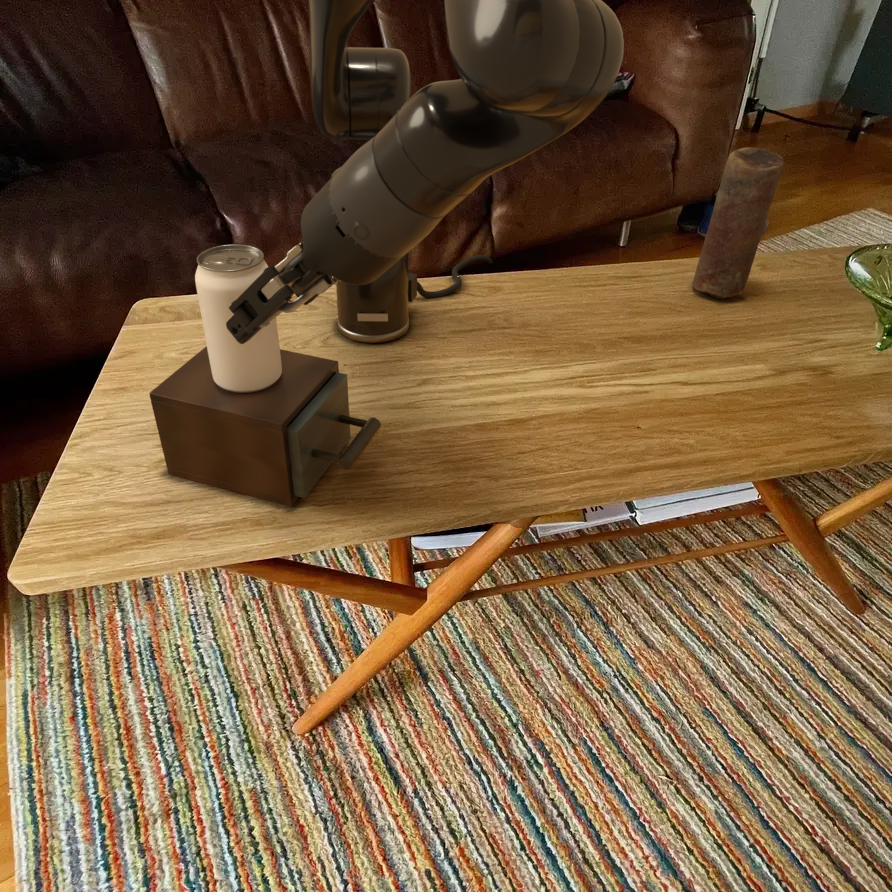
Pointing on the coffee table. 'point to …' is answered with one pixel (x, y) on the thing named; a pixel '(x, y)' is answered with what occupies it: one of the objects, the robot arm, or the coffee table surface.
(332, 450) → the drawer
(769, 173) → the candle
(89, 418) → the coffee table surface
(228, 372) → the can
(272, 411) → the cabinet
